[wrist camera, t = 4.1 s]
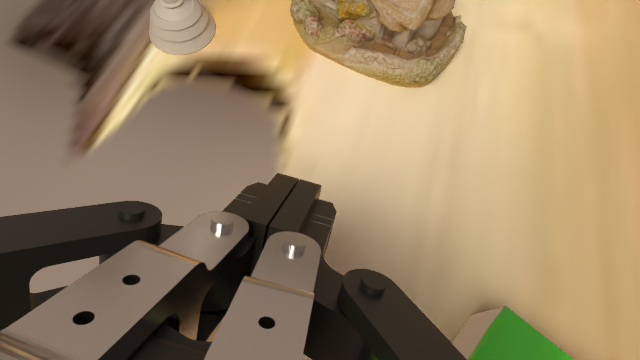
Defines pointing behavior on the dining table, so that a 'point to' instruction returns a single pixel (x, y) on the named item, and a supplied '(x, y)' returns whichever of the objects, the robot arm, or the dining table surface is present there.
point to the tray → (503, 338)
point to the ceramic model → (382, 36)
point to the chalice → (180, 26)
